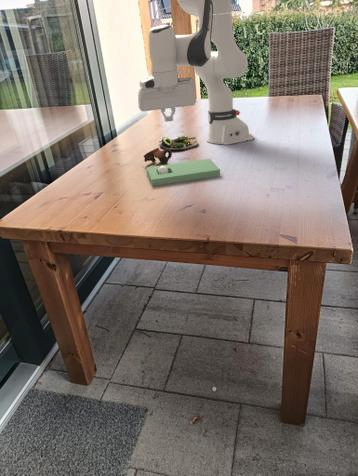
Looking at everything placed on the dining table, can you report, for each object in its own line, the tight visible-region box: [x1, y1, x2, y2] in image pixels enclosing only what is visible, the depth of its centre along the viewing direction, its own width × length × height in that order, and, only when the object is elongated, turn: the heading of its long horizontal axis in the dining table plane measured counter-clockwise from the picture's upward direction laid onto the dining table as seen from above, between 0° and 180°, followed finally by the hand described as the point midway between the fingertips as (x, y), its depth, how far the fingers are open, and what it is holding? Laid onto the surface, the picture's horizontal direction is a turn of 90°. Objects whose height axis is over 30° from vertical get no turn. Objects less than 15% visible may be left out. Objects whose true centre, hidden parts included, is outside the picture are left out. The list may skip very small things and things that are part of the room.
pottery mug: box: [143, 147, 173, 166], centre depth 158 cm, size 12×10×8 cm
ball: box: [158, 166, 168, 174], centre depth 144 cm, size 4×4×4 cm
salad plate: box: [158, 135, 199, 153], centre depth 181 cm, size 19×18×5 cm
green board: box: [146, 158, 221, 187], centre depth 146 cm, size 26×14×2 cm, turn 102°
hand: (168, 121), depth 135 cm, fingers closed
